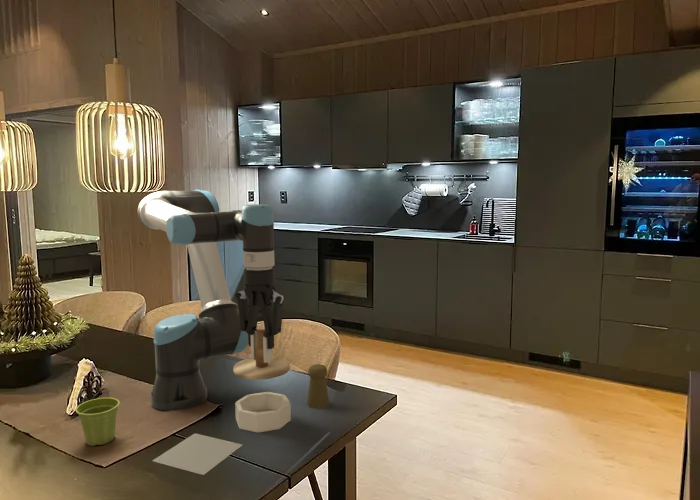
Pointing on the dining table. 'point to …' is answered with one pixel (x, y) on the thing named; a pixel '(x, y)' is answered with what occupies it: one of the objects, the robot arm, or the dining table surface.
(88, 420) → the plant pot
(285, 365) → the lid
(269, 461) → the dining table surface
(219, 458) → the mat
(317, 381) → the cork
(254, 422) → the bowl
